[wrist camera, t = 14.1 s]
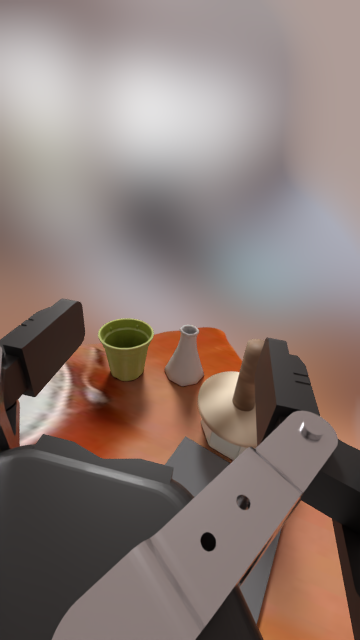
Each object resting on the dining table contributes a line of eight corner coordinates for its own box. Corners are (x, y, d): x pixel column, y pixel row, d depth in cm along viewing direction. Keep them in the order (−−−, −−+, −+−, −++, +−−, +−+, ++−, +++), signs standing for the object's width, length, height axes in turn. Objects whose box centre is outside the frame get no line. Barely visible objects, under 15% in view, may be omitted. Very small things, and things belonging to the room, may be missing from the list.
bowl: (191, 435, 41) (195, 412, 38) (219, 394, 48) (224, 373, 46) (255, 473, 37) (264, 451, 34) (275, 422, 44) (284, 401, 42)
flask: (157, 369, 53) (160, 325, 48) (186, 356, 57) (191, 315, 52) (180, 392, 48) (186, 347, 43) (210, 377, 52) (219, 333, 47)
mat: (118, 531, 30) (118, 529, 29) (185, 438, 40) (185, 436, 40) (249, 646, 23) (251, 645, 23) (287, 501, 34) (289, 499, 34)
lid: (180, 414, 38) (188, 351, 32) (220, 365, 47) (232, 310, 42) (273, 468, 32) (303, 403, 27) (297, 400, 42) (322, 342, 36)
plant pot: (103, 392, 46) (99, 352, 42) (99, 357, 54) (96, 320, 50) (156, 384, 49) (159, 345, 45) (146, 352, 57) (147, 316, 52)
